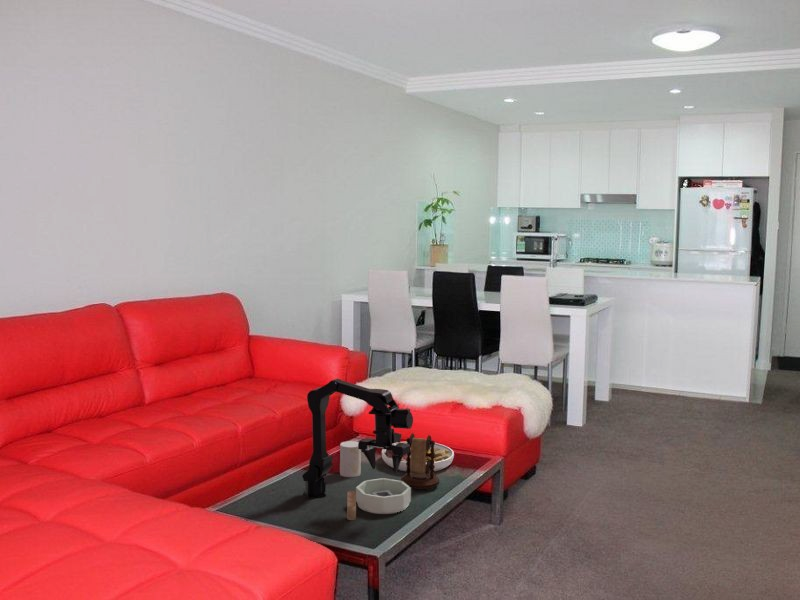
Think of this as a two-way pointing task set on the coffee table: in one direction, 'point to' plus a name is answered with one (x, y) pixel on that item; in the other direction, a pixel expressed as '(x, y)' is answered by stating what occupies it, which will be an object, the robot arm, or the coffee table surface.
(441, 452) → the bowl
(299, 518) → the coffee table surface
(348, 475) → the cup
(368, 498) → the octagonal white bin
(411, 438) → the scroll
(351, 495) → the beige rounded cylinder
